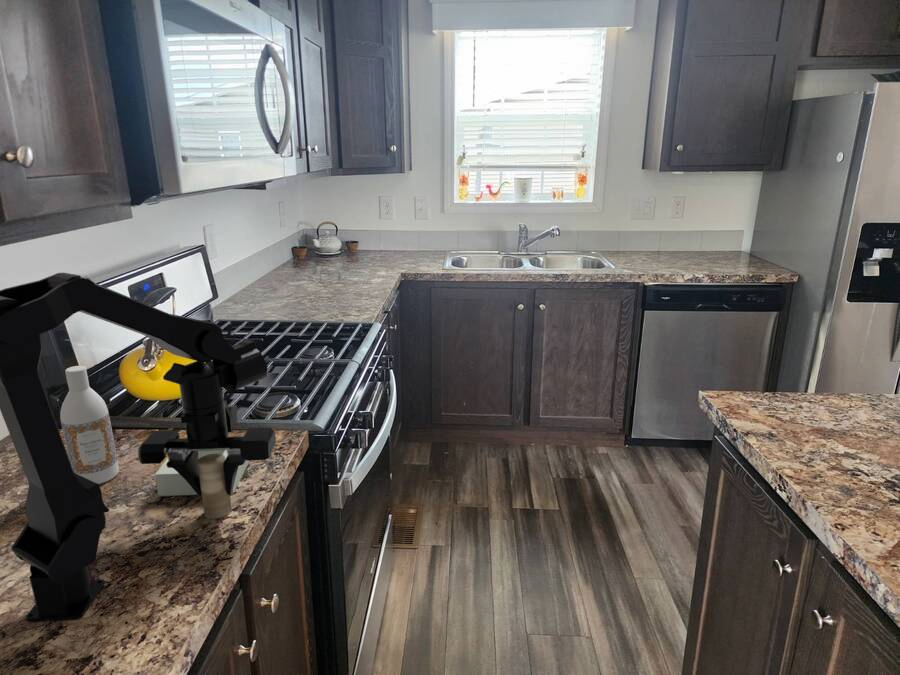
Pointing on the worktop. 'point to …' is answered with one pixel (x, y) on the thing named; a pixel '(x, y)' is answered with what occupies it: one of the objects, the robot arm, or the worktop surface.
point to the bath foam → (87, 429)
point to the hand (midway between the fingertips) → (215, 494)
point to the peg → (213, 486)
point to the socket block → (177, 485)
